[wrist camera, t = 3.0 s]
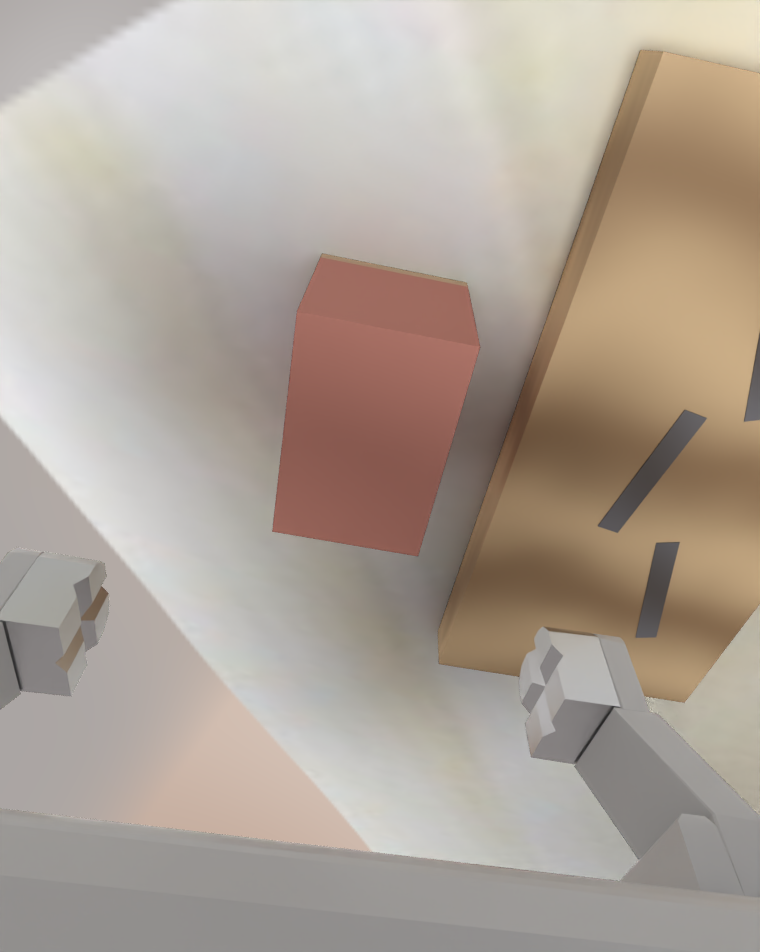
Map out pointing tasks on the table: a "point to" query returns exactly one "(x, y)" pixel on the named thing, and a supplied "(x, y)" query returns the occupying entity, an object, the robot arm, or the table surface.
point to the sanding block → (372, 403)
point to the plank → (638, 405)
